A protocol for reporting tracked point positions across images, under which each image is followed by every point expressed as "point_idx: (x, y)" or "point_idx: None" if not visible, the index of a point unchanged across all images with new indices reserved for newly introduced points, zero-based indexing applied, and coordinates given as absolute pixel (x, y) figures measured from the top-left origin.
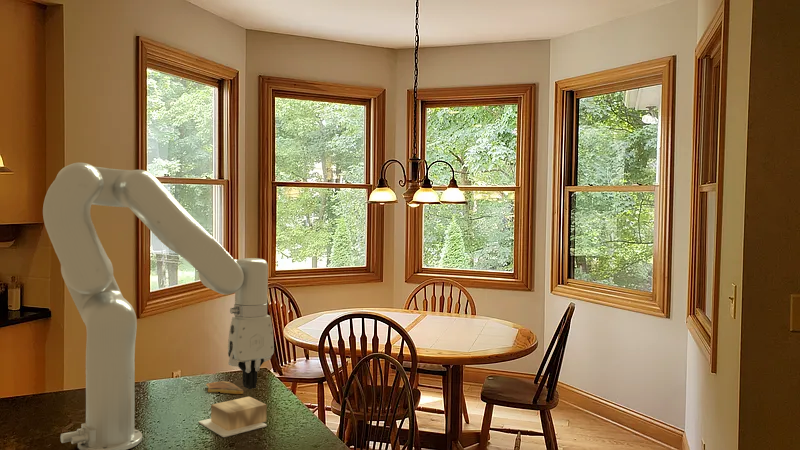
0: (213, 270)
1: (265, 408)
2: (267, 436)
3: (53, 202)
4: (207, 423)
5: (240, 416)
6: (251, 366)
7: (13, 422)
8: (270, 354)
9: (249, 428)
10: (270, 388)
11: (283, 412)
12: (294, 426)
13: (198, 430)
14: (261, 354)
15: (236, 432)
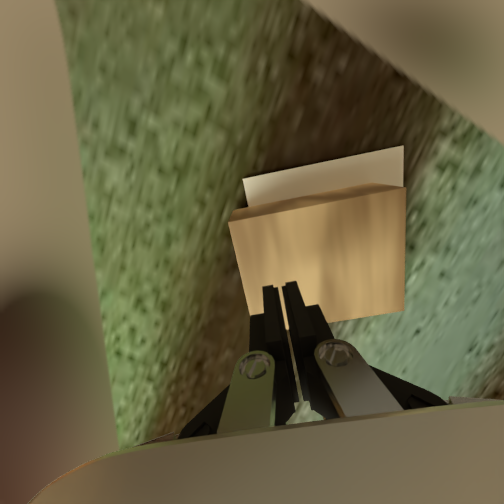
0: None
1: (234, 218)
2: (274, 78)
3: None
4: None
5: (339, 196)
6: (284, 412)
7: None
8: (69, 488)
9: (305, 169)
10: (145, 439)
11: (159, 272)
12: (159, 132)
13: (428, 242)
14: (223, 500)
15: (355, 155)
